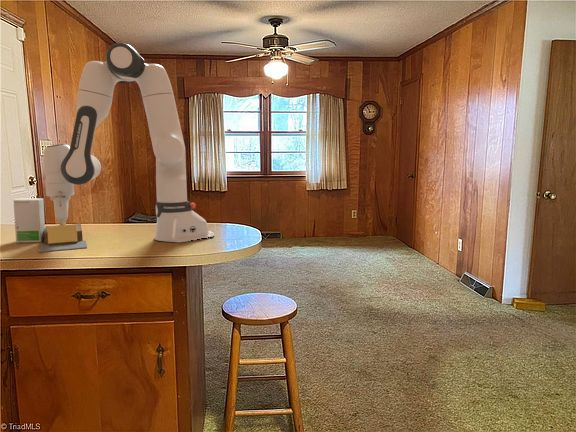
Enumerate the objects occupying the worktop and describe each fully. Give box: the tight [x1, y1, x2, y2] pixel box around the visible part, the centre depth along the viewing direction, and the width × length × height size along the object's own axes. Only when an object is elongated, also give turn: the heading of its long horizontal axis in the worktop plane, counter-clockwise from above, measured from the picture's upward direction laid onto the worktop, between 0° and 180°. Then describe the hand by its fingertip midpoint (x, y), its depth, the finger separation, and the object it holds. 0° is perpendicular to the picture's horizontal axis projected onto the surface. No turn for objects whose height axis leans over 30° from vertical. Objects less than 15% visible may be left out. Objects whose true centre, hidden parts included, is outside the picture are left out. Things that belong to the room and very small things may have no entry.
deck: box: [43, 223, 84, 244], centre depth 154 cm, size 12×16×4 cm
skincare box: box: [13, 197, 46, 243], centre depth 150 cm, size 8×7×16 cm
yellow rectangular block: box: [47, 224, 78, 245], centre depth 145 cm, size 9×6×2 cm
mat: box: [39, 240, 88, 254], centre depth 142 cm, size 14×11×1 cm
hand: (63, 228), depth 148 cm, fingers closed
